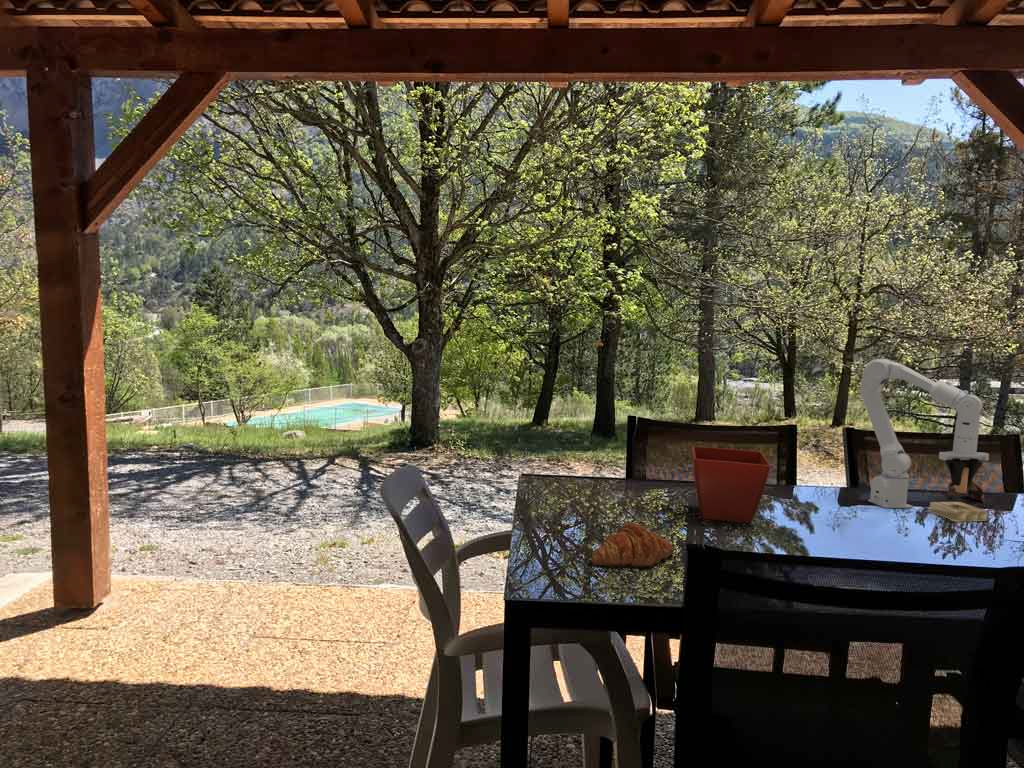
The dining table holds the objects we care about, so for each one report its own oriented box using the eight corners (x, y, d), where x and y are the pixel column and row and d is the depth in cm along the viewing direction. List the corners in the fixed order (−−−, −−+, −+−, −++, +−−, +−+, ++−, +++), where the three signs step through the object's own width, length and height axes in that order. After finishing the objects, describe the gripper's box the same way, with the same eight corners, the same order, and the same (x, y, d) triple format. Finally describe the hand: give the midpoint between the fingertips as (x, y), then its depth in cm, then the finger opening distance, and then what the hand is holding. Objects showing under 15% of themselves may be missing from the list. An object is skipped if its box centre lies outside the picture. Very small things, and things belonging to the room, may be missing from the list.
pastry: (660, 578, 153) (663, 540, 153) (588, 566, 159) (590, 529, 158) (674, 555, 169) (676, 520, 168) (607, 544, 174) (609, 510, 174)
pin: (959, 492, 212) (962, 468, 211) (952, 490, 214) (955, 466, 214) (968, 493, 212) (971, 468, 211) (961, 490, 215) (964, 466, 214)
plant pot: (765, 528, 193) (771, 464, 191) (689, 521, 197) (694, 458, 195) (757, 510, 211) (761, 451, 210) (687, 503, 215) (691, 445, 213)
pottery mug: (988, 507, 229) (976, 484, 229) (954, 515, 235) (943, 492, 234) (986, 490, 239) (975, 467, 239) (954, 498, 245) (943, 476, 244)
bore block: (955, 522, 208) (956, 511, 208) (929, 512, 218) (930, 502, 218) (986, 521, 210) (987, 511, 210) (959, 511, 220) (960, 501, 220)
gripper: (954, 439, 206) (949, 488, 208) (999, 440, 209) (994, 488, 210) (935, 435, 213) (930, 482, 215) (979, 436, 216) (974, 482, 217)
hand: (960, 484), depth 213 cm, fingers closed on pin, 3 cm apart
